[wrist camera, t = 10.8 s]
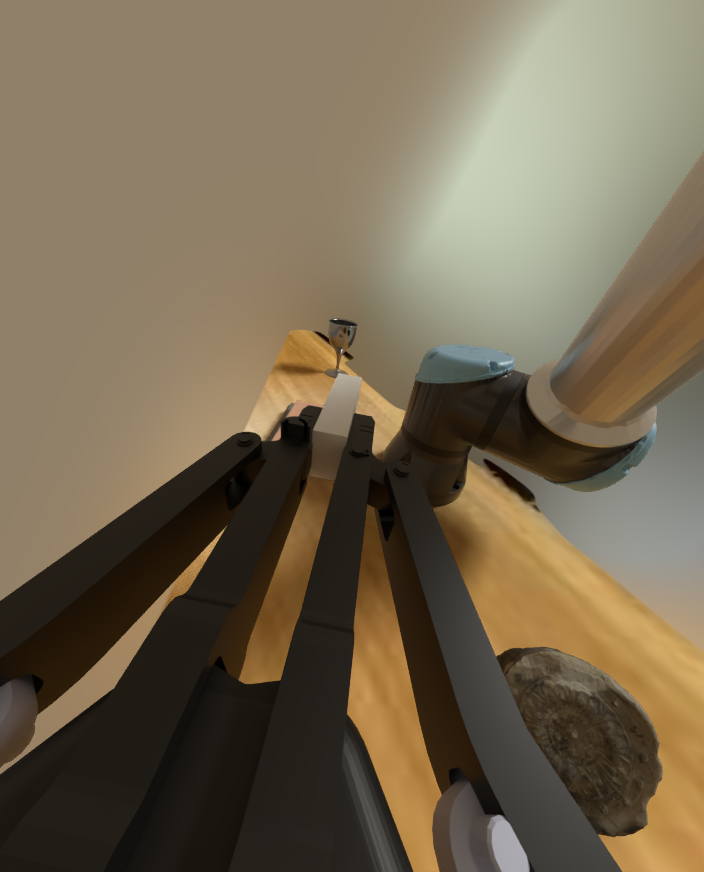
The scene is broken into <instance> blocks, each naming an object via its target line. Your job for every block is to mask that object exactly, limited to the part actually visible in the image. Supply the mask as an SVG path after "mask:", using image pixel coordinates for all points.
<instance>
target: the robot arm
mask: <svg viewBox="0 0 704 872" xmlns="http://www.w3.org/2000/svg"><path fill="white" fill-rule="evenodd" d="M514 363H515V359H514V358H513V357H512V356H511V355H509V354H507V353H503V352H500V351H498V350H494V349H490V348H484V347H478V346H470V345H441V346H437V347H434V348H432V349H430V350H429V351H428V352H427V353H426V354H425V356H424V358H423V361H422V363H421V366H420V369H419V372H418V373H417V374H416V376H415V379H416V380H415V383H414V386H413V390H412V393H411V396H410V400H409V403H408V406H407V410H406V413H405V416H404V420H403V423H402V426H401V429H400V430H399V432H398V433H397V434H396V436H395V437H394V438H393V439H392V441H391V442H390V443H389V445H388V446H387V447H386V449H385V450H384V452H383V455H382V459H381V461H379V460H378V459H377V458H375V456H374V455H373V453H372V443H373V435H374V426H375V421H374V420H373V418H372V416H366V415H361V414H356V409H357V404H358V398H359V392H360V387H361V381H362V377H357V376H351V375H346V374H341V373H338V376H337V378H336V380H335V382H334V384H333V387H332V389H331V391H330V393H329V396H328V398H327V400H326V402H325V404H324V407H323V408H322V407H316V406H311V405H308V406H307V407H305V408H303V409H302V411H301V413H300V415H299V416H291V417H287V418H284V419H283V420H282V421H281V437H280V439H279V440H276V441H261V437H260V436H259V435H258V434H256V433H252V432H241V433H237V434H235V435H233V436H231V437H230V438H229V439H227V440H226V441H224V442H223V443H222V444H220V445H219V446H217V447H216V448H215V449H213V450H212V451H210V452H209V453H208V454H206V455H205V456H203V457H202V458H201V459H199V460H198V461H196V462H195V463H194V464H192V465H191V466H189V467H188V468H186V469H185V470H184V471H182V472H181V473H179V474H178V475H177V476H175V477H174V478H172V479H171V480H170V481H168V482H167V483H165V484H164V485H163V486H161V487H160V488H158V489H157V490H156V491H154V492H153V493H152V494H150V495H149V496H147V497H146V498H145V499H143V500H142V501H140V502H139V503H137V504H136V505H134V506H133V507H132V508H130V509H129V510H127V511H126V512H125V513H123V514H122V515H120V516H119V517H118V518H116V519H115V520H113V521H112V522H111V523H109V524H108V525H106V526H105V527H104V528H102V529H101V530H100V531H98V532H97V533H95V534H94V535H92V536H91V537H90V538H88V539H87V540H85V541H84V542H82V543H81V544H80V545H78V546H77V547H75V548H74V549H73V550H71V551H70V552H69V553H67V554H66V555H65V556H63V557H62V558H60V559H59V560H58V561H56V562H54V563H53V564H52V565H50V566H49V567H47V568H46V569H45V570H43V571H42V572H40V573H39V574H38V575H36V576H35V577H33V578H32V579H31V580H29V581H28V582H26V583H25V584H23V585H22V586H21V587H19V588H18V589H16V590H15V591H14V592H12V593H11V594H10V595H8V596H7V597H5V598H4V599H3V600H1V601H0V767H1V766H2V765H3V764H5V763H7V762H10V761H12V760H13V759H14V758H16V757H17V756H18V755H19V754H21V753H22V752H23V750H24V749H25V748H26V747H27V745H28V744H29V743H30V741H31V739H32V737H33V735H34V732H35V731H34V730H35V725H34V724H35V720H36V717H37V715H38V714H39V713H40V712H42V711H43V710H44V709H46V708H47V707H48V706H49V705H51V704H52V703H53V702H54V701H56V700H57V699H58V698H59V697H60V696H62V695H63V694H64V693H65V692H66V691H67V690H68V689H69V688H70V687H72V686H73V685H74V684H75V683H76V682H77V681H79V680H80V679H81V678H82V677H83V676H84V675H85V674H86V673H87V672H88V671H89V670H90V669H91V668H92V667H93V666H94V665H95V664H96V663H97V662H98V661H99V660H100V659H101V658H102V657H103V656H104V655H105V654H106V653H107V652H108V651H109V650H110V649H111V647H113V646H114V644H115V643H116V642H117V641H118V640H119V639H120V638H121V637H122V636H123V635H124V634H125V633H126V632H127V631H128V630H129V629H130V627H131V626H132V625H133V624H134V623H135V622H136V621H137V620H138V619H139V618H140V617H141V616H142V615H143V614H144V613H145V612H146V610H147V609H148V608H149V607H150V606H151V605H152V604H153V603H154V602H155V601H156V600H157V599H158V598H159V597H160V596H161V595H162V594H163V593H164V591H165V590H166V589H167V588H168V587H169V586H170V585H171V584H172V583H173V582H174V581H175V580H176V579H177V578H178V577H179V576H180V575H181V574H182V572H183V571H184V570H185V569H186V568H187V567H188V566H189V565H190V564H191V563H192V562H193V561H194V560H195V559H196V558H197V557H198V556H199V554H200V553H201V552H202V551H203V550H204V549H205V548H206V547H207V546H208V545H209V544H210V543H211V542H212V541H213V540H214V539H215V538H216V536H217V535H218V534H219V533H220V532H221V531H222V530H223V529H224V528H225V527H226V526H227V527H226V529H225V530H224V532H223V534H222V535H221V537H220V539H219V540H218V542H217V544H216V545H215V547H214V549H213V550H212V552H211V554H210V555H209V557H208V559H207V560H206V562H205V564H204V565H203V567H202V569H201V570H200V572H199V574H198V575H197V577H196V579H195V580H194V582H193V584H192V585H191V587H190V588H189V590H188V591H187V592H186V593H185V594H183V595H180V596H177V597H175V598H174V599H173V600H172V601H171V602H170V603H169V604H168V606H167V607H166V608H165V610H164V611H163V612H162V614H161V616H160V617H159V619H158V620H157V622H156V623H155V625H154V627H153V628H152V630H151V631H150V633H149V634H148V636H147V638H146V639H145V641H144V642H143V644H142V645H141V647H140V649H139V650H138V652H137V654H136V655H135V656H134V658H133V659H132V661H131V663H130V664H129V666H128V667H127V669H126V670H125V672H124V674H123V675H122V677H121V678H120V680H119V681H118V683H117V685H116V686H115V688H114V689H113V690H111V691H110V692H108V693H107V694H106V695H104V696H103V697H102V698H100V699H99V700H98V701H97V702H95V703H94V704H93V705H91V706H90V707H89V708H87V709H86V710H85V711H83V712H82V713H81V714H79V716H77V717H75V718H74V719H73V720H72V721H70V722H69V723H68V724H66V725H65V726H64V727H62V728H61V729H60V730H58V731H57V732H56V733H54V734H53V735H52V736H51V737H49V738H48V739H46V740H45V741H44V742H43V743H41V744H40V745H39V746H37V747H36V748H35V749H33V750H32V751H31V752H29V753H28V754H27V755H25V756H24V757H23V758H21V759H20V760H19V761H17V762H16V763H15V764H14V765H12V766H11V767H10V768H8V769H7V770H6V771H4V772H3V773H2V774H0V872H413V869H412V867H411V864H410V861H409V859H408V856H407V854H406V851H405V848H404V846H403V843H402V840H401V838H400V835H399V832H398V830H397V827H396V825H395V822H394V819H393V817H392V814H391V811H390V809H389V806H388V803H387V801H386V798H385V795H384V793H383V790H382V788H381V785H380V782H379V780H378V777H377V774H376V772H375V769H374V766H373V764H372V761H371V758H370V756H369V753H368V750H367V748H366V745H365V743H364V741H363V739H362V737H361V735H360V733H359V731H358V729H357V727H356V726H355V724H354V723H353V721H352V720H351V718H350V717H349V716H348V715H347V706H348V697H349V687H350V678H351V668H352V658H353V648H354V630H353V627H354V616H355V607H356V598H357V589H358V580H359V571H360V562H361V553H362V544H363V535H364V526H365V517H366V508H367V504H368V505H370V506H372V507H374V508H375V515H376V520H377V524H378V529H379V534H380V538H381V543H382V548H383V552H384V557H385V562H386V566H387V571H388V576H389V581H390V585H391V590H392V595H393V599H394V604H395V609H396V613H397V618H398V623H399V627H400V632H401V637H402V641H403V646H404V651H405V655H406V660H407V665H408V670H409V674H410V679H411V684H412V688H413V693H414V698H415V702H416V707H417V712H418V716H419V721H420V725H421V729H422V733H423V737H424V741H425V745H426V749H427V753H428V756H429V759H430V762H431V765H432V768H433V771H434V774H435V777H436V780H437V784H438V786H439V789H440V791H441V794H442V796H441V798H440V799H439V801H438V802H437V805H436V808H435V811H434V816H433V827H432V831H433V844H434V850H435V854H436V858H437V862H438V867H439V871H440V872H622V871H621V869H620V868H619V866H618V865H617V863H616V862H615V860H614V859H613V857H612V856H611V854H610V853H609V851H608V850H607V848H606V847H605V845H604V844H603V842H602V841H601V839H600V838H599V836H598V835H597V833H596V832H595V830H594V829H593V827H592V826H591V824H590V823H589V821H588V820H587V818H586V817H585V815H584V814H583V812H582V811H581V809H580V808H579V806H578V805H577V803H576V802H575V800H574V799H573V797H572V796H571V794H570V793H569V791H568V790H567V788H566V787H565V785H564V784H563V782H562V781H561V779H560V778H559V776H558V775H557V773H556V772H555V770H554V769H553V767H552V766H551V764H550V763H549V761H548V760H547V758H546V757H545V755H544V754H543V752H542V751H541V749H540V748H539V746H538V745H537V743H536V742H535V740H534V739H533V737H532V736H531V734H530V733H529V731H528V730H527V728H526V726H525V723H524V721H523V719H522V716H521V714H520V712H519V709H518V707H517V705H516V702H515V700H514V697H513V695H512V693H511V690H510V688H509V686H508V683H507V681H506V679H505V676H504V674H503V672H502V669H501V667H500V665H499V662H498V660H497V658H496V655H495V653H494V651H493V648H492V646H491V644H490V641H489V639H488V637H487V634H486V632H485V630H484V627H483V625H482V623H481V620H480V618H479V616H478V613H477V611H476V609H475V606H474V604H473V602H472V599H471V597H470V595H469V592H468V590H467V588H466V585H465V583H464V581H463V578H462V576H461V574H460V571H459V569H458V567H457V564H456V562H455V560H454V557H453V555H452V553H451V550H450V548H449V546H448V543H447V541H446V539H445V536H444V534H443V532H442V529H441V527H440V525H439V522H438V520H437V518H436V515H435V513H434V511H433V508H432V506H431V505H445V504H449V503H451V502H453V501H454V500H456V499H457V498H458V497H459V495H460V493H461V492H462V490H463V488H464V486H465V482H466V473H467V462H468V453H469V452H470V449H471V447H472V446H474V447H476V448H478V449H481V450H484V451H485V452H488V453H490V454H492V455H495V456H496V457H499V458H501V459H503V460H506V461H508V462H510V463H512V464H514V465H517V466H519V467H522V468H523V469H526V470H528V471H530V472H532V473H535V474H537V475H539V476H541V477H543V478H544V479H546V480H547V481H549V482H551V483H554V484H557V485H558V484H559V485H562V486H565V487H568V488H570V489H573V490H576V491H581V492H592V491H597V490H601V489H604V488H607V487H609V486H611V485H613V484H615V483H616V482H618V481H620V480H621V479H622V478H624V477H625V476H626V475H628V471H629V469H630V468H631V467H636V466H637V465H638V464H639V463H640V462H641V461H642V460H643V459H644V458H645V456H646V455H647V453H648V452H649V450H650V448H651V446H652V444H653V442H654V440H655V436H656V431H657V426H656V422H655V421H656V416H657V409H656V405H657V404H658V403H659V402H661V401H662V400H664V399H665V398H666V397H668V396H669V395H671V394H672V393H673V392H675V391H676V390H677V389H679V388H680V387H682V386H683V385H684V384H686V383H687V382H689V381H690V380H691V379H693V378H694V377H696V376H697V375H698V374H700V373H701V372H703V371H704V152H703V153H702V155H701V156H700V157H699V159H698V160H697V162H696V163H695V165H694V166H693V168H692V169H691V170H690V172H689V173H688V175H687V176H686V178H685V179H684V181H683V182H682V184H681V185H680V186H679V188H678V189H677V191H676V192H675V194H674V195H673V196H672V198H671V199H670V201H669V202H668V204H667V205H666V207H665V208H664V210H663V211H662V212H661V214H660V215H659V217H658V218H657V220H656V221H655V223H654V224H653V225H652V227H651V229H650V230H649V231H648V233H647V234H646V236H645V237H644V239H643V240H642V241H641V243H640V244H639V246H638V247H637V249H636V250H635V252H634V253H633V254H632V256H631V258H630V259H629V261H628V262H627V263H626V265H625V266H624V268H623V269H622V270H621V272H620V273H619V275H618V276H617V278H616V279H615V281H614V282H613V284H612V285H611V286H610V288H609V290H608V291H607V292H606V294H605V295H604V297H603V298H602V299H601V301H600V302H599V304H598V305H597V307H596V308H595V310H594V311H593V313H592V314H591V316H590V317H589V318H588V320H587V321H586V323H585V324H584V326H583V327H582V328H581V330H580V331H579V333H578V334H577V336H576V337H575V339H574V340H573V342H572V343H571V345H570V346H569V347H568V349H567V350H566V352H565V353H564V355H563V356H562V358H561V359H556V360H553V361H550V362H548V363H546V364H544V365H542V366H541V367H539V368H538V369H537V370H536V371H535V372H534V373H533V374H532V375H528V374H525V373H521V372H518V371H515V370H513V368H514V367H515V364H514ZM309 471H310V475H309V476H312V477H317V478H322V479H327V480H332V481H335V483H334V487H333V490H332V494H331V498H330V502H329V506H328V510H327V513H326V517H325V521H324V525H323V529H322V533H321V536H320V540H319V544H318V548H317V552H316V556H315V559H314V563H313V567H312V571H311V575H310V579H309V582H308V586H307V590H306V594H305V598H304V602H303V605H302V609H301V613H300V616H299V619H298V621H297V623H296V626H295V629H294V633H293V636H292V640H291V644H290V647H289V651H288V655H287V659H286V662H285V666H284V670H283V674H282V677H281V680H280V681H272V682H264V683H257V684H244V683H242V682H240V681H239V680H238V679H239V677H240V674H241V671H242V668H243V664H244V660H245V656H246V650H247V646H248V642H249V639H250V636H251V633H252V631H253V628H254V625H255V623H256V620H257V617H258V615H259V612H260V609H261V606H262V604H263V601H264V598H265V596H266V593H267V590H268V587H269V585H270V582H271V579H272V577H273V574H274V571H275V569H276V566H277V563H278V560H279V558H280V555H281V552H282V550H283V547H284V544H285V541H286V539H287V536H288V533H289V531H290V528H291V525H292V523H293V520H294V517H295V514H296V512H297V509H298V506H299V504H300V501H301V498H302V496H303V493H304V490H305V487H306V485H307V476H308V473H309Z"/></svg>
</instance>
